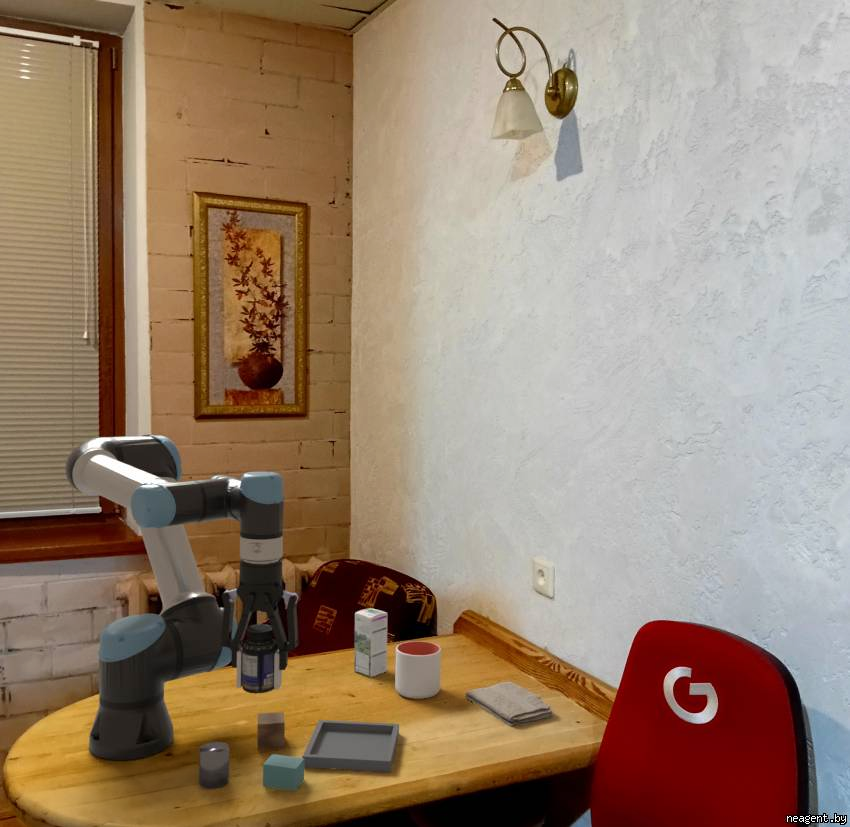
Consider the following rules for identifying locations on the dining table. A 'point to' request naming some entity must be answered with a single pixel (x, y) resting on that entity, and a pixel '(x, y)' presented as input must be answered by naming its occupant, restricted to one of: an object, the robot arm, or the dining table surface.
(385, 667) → the syrup box
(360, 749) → the tray
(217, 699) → the dining table surface
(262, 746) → the walnut cube
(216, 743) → the metal cylinder
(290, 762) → the teal block
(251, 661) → the pill bottle
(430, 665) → the cup
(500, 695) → the washcloth
